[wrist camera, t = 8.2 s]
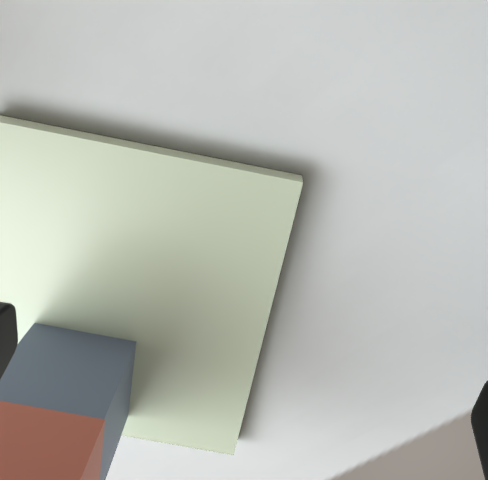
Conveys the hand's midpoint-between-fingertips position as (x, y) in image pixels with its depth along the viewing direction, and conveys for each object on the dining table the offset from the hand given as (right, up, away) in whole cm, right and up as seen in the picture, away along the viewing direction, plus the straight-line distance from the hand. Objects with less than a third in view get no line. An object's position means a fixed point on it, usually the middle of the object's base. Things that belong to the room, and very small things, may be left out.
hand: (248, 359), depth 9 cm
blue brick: (-8, -4, +15) cm, 18 cm away
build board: (-6, -1, +14) cm, 15 cm away
